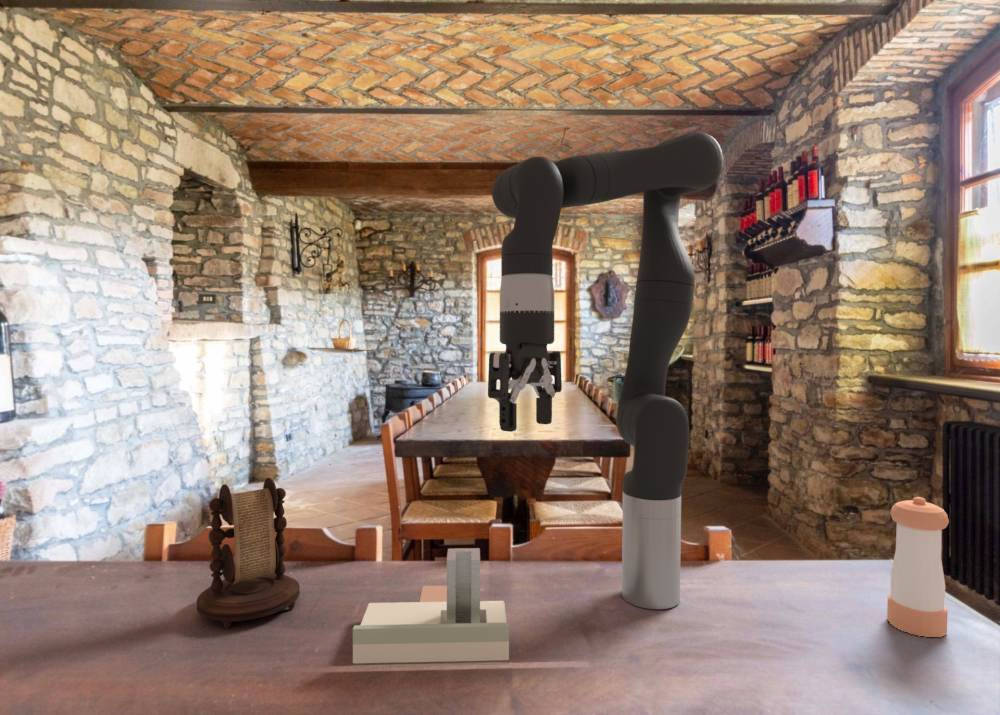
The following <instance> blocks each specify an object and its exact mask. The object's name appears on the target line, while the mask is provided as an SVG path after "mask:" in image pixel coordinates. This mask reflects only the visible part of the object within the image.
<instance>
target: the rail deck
mask: <svg viewBox="0 0 1000 715" xmlns="http://www.w3.org/2000/svg"><path fill="white" fill-rule="evenodd" d="M506 615H507V613H506V606H505V601H504V600H480V623H458V624H447V602H420V601H415V602H414V601H411V602H410V601H408V602H406V601H402V602H369V603H368V604H367V607H366V610H365V612H364V615H363V618H362V621H361V623H360V624H357V625H356V624H355V625H354V626H353V627H352V664H353V665H352V668H353V669H354V668H360V669H361V668H398V667H399V668H401V667H404V668H405V667H442V666H443V667H444V666H448V667H449V666H453V667H454V666H485V665H486V666H488V665H489V666H491V665H494V666H495V665H497V666H498V665H510V662H509V660H510V622H507V616H506ZM478 661H479V662H478ZM480 661H482V662H480ZM485 661H486V662H485ZM487 661H488V662H487ZM489 661H490V662H489ZM492 661H493V662H492ZM498 661H499V662H498ZM432 662H433V663H432ZM434 662H435V663H434ZM437 662H439V663H437ZM441 662H442V663H441ZM443 662H444V663H443ZM446 662H447V663H446ZM388 663H389V664H388ZM390 663H391V664H390ZM394 663H397V664H394ZM399 663H400V664H399Z"/></svg>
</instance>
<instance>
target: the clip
mask: <svg viewBox="0 0 1000 715" xmlns="http://www.w3.org/2000/svg"><path fill="white" fill-rule="evenodd" d="M446 586H447V624H458V623H480V601H481V549H480V548H479V547H475V548H474V547H473V548H471V547H470V548H466V547H465V548H464V547H463V548H462V547H461V548H447V554H446Z"/></svg>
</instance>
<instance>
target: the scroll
mask: <svg viewBox="0 0 1000 715" xmlns="http://www.w3.org/2000/svg"><path fill="white" fill-rule="evenodd" d="M286 496H287V493H286V490H285V489H284V488H282V487H278V488H277V485H276V484H275V481H274V479H272V478H271V477H266V479H265V480H264V482H263V486H262V488H260V489H253V490H249V491H247V490H246V491H243V492H241V491H240V492H236V493H231V490H230V487H229V485H227V484H226V483H224V484H222V485H221V486H220V489H219V494H218V497H216V498H215V497H214V498H212V499H211V500H210V502H209V504H208V507H209V510H211V512H210V515H211V516H212V519H211V521H210V527H211V530H210V531H209V532H208V540H209V543H210V545H211V546H212V549H211V554H210V556H211V558H212V560H211V561H210V563H209V569H210V571H211V572H212V573H211V574H210V575H211V577H212V578H213V579H212V582H211V584H210V586H208V587H207V588H206V589H205V590H203V591H202V592H201V593H200V594H199V595H198V597H197V599H196V612H197V613H198V615H200V616H201V617H202V618H204V619H207V620H212V621H217V622H222V623H223V624H222V625H223V627H224V629H225V630H229V629H230V627H231V625H232V622H243V621H250V620H255V619H259V618H263V617H267V616H271V615H273V614H275V613H278V612H281V611H282V610H284V609H285V610H286V608H288V609H289V610H290V611H292V610H294V608H295V605H296V601H297V600H298V598H299V596H300V588H301V587H300V583H299V582H298V580H296V579H295V578H294V577H291V576H289V575H287V574H285V572H286V567H285V564H284V561H285V559H286V558H285V557H284V556H285V555H286V554H287V548H286V546H285V545H284V544H285V541H286V540H285V536H284V533H283V532H285V529H286V527H287V526H288V524H287V523H288V520H287V518H286V517H285V516H284V515H285V513H286V512H285V508H284V504H285V500H284V499H285V497H286ZM220 515H221V516H220ZM221 518H222V519H221ZM222 520H223V521H224V522H226V523H227V524H228V526H229V527H230V528H228V529H226V531H225V530H224V529H223V528H221V527H222V526H223V522H222ZM231 526H233V528H231ZM275 533H276V534H275ZM226 538H227V539H233V538H234V540H233V541H234V555H233V552H232V549H231V547H230V545H229V544H227V543H224V545H223V541H224V540H225V539H226ZM221 545H223V546H222V547H221ZM221 576H223V578H224V579H222V578H221Z"/></svg>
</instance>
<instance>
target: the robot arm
mask: <svg viewBox="0 0 1000 715" xmlns="http://www.w3.org/2000/svg"><path fill="white" fill-rule="evenodd" d="M723 167H724V156H723V150H722V148H721V145H720V144H719V142H718V141H717V140H716V138H714V136H712V135H710V134H708V133H706V132H701V131H695V132H688V133H685V134H682V135H679V136H675V137H673V138H670V139H667V140H664V141H661V142H658V144H656V145H654V146H650V147H649V146H648V147H641V148H636V149H629V150H628V149H627V150H616V151H607V152H597V153H589V154H578V155H573V156H568V157H564V158H562V159H560V160H558V161H555V162H553V161H552V160H551V159H549V158H547V157H545V156H533V157H532V156H531V157H529V158H527V159H525V160H522V161H521V162H519V163H517V164H515V165H512V166H510V167H508V168H505V169H504V170H503V171H502V172H500V173H499V174H498V175H497V177H496V178H495V180H494V181H493V185H492V188H491V198H492V201H493V204H494V205H495V207H496V209H497V210H498V211H499V212H500V213H501V214H502V215H504V216H506V217H509V218H513V219H515V220H514V224H513V228H512V230H511V231H510V232H509V233H508V234H507V235H505V236H504V237H503V239H502V244H501V251H500V252H501V261H500V263H501V264H500V266H501V270H500V271H501V279H500V280H501V281H500V286H499V289H500V290H499V342H500V343H501V344H502V345H505V351H504V352H491V353H489V355H488V379H487V380H488V381H487V396H488V398H489V399H494V400H496V401H497V402H498V404H499V409H498V410H499V414H498V418H499V421H498V422H499V428H500V430H501V431H502V432H509V433H511V432H516V431H517V429H518V428H517V424H518V423H517V421H518V420H517V415H518V414H517V413H518V412H517V409H518V407H517V404H518V403H516V402H517V400H518V396H519V394H520V392H521V391H522V390H524V389H525V388H526V385H528V384H529V385H530V386H532V387H533V389H534V391H535V395H536V396H537V397H536V400H535V402H536V403H535V412H536V413H535V414H536V415H535V418H536V419H535V422H536V423H537V424H539V425H549V424H550V425H551V424H552V421H553V420H552V419H553V418H552V417H553V398H555V395H556V393H561V392H562V388H563V387H562V386H563V385H562V354H561V352H560V351H559V350H557V351H556V350H548V345H552V344H553V343H554V342H555V288H554V287H555V286H554V278H553V274H554V273H553V265H554V264H553V262H554V260H553V257H554V256H553V245H554V241H555V237H556V233H557V230H558V225H559V221H560V215H561V213H562V212H561V211H562V209H564V208H566V209H567V208H573V207H574V208H575V207H576V208H577V207H583V206H589V205H595V204H601V203H605V202H609V201H614V200H617V199H618V200H619V199H622V198H625V197H628V196H632V195H636V194H641V193H642V194H643V197H642V198H643V202H642V204H643V205H642V207H643V208H642V210H643V211H642V213H643V214H642V230H641V231H642V232H641V242H640V244H641V245H640V252H639V264H638V271H637V277H636V283H635V292H634V301H633V313H632V322H631V329H630V330H631V332H630V340H629V347H628V358H627V364H626V369H625V374H624V377H623V383H622V388H621V391H620V396H619V400H618V404H617V405H618V406H617V411H616V420H615V421H616V428H617V431H618V433H619V435H620V437H621V438H622V439H623V441H625V443H627V444H628V445H631V446H633V447H634V457H633V467H632V468H631V470H630V471H627V472H626V473H625V474H624V475H623V478H622V529H621V530H622V534H621V535H622V536H621V537H622V539H621V540H622V542H621V543H622V544H621V545H622V546H621V551H622V552H621V596H622V598H623V599H624V601H626V602H628V603H629V604H631V605H633V606H636V607H638V608H643V609H649V610H666V609H671V608H674V607H676V606H678V605H679V603H680V600H681V553H682V552H681V551H682V550H681V545H682V543H681V541H682V487H683V484H684V482H685V479H686V477H687V472H688V462H689V460H688V459H689V448H690V447H689V444H690V425H689V424H690V422H689V418H688V414H687V412H686V411H687V410H685V408H684V406H683V405H682V404H681V403H680V402H679V401H678V400H676V399H674V398H672V397H669V396H666V395H665V394H666V384H667V383H666V382H667V376H668V370H669V365H670V362H671V360H672V358H673V354H674V352H675V350H676V349H677V346H678V345H679V343H680V341H681V339H682V337H683V335H684V333H685V331H686V328H687V326H688V324H689V322H690V318H691V316H692V310H693V301H694V292H695V285H696V284H695V283H696V278H695V277H696V275H695V274H696V273H695V270H694V266H693V263H692V261H691V259H690V257H689V253H688V251H687V250H686V247H685V245H684V243H683V240H682V238H681V234H680V230H679V213H680V204H681V199H682V197H683V196H684V195H685V196H686V195H691V194H694V193H695V194H696V193H698V192H701V191H704V190H707V189H708V188H709V187H711V186H713V185H715V183H716V182H717V180H718V179H720V176H721V175H722V171H723ZM553 377H554V379H553ZM498 380H499V384H500V385H499V389H497V384H498V383H497V382H498ZM553 380H554V382H553ZM552 382H553V383H552ZM509 390H510V392H509Z"/></svg>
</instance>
